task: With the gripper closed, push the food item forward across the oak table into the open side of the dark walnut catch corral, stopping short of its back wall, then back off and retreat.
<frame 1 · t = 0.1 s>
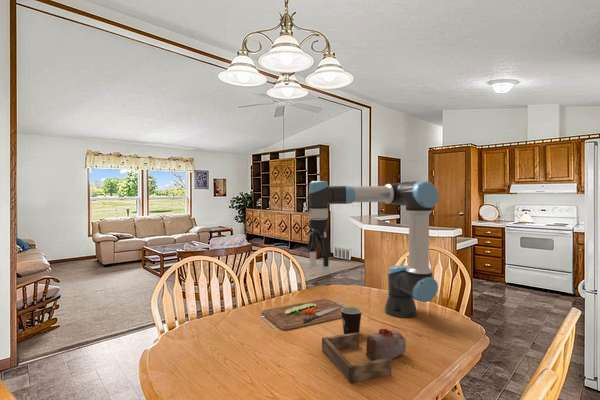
hand: (318, 270, 139), 28 cm above the table, tool pointing down, fingers open, 13 cm apart
corral: (354, 362, 120), on the table
coffee mug: (351, 332, 145), on the table
food item: (385, 356, 124), on the table
chopping board: (307, 315, 167), on the table
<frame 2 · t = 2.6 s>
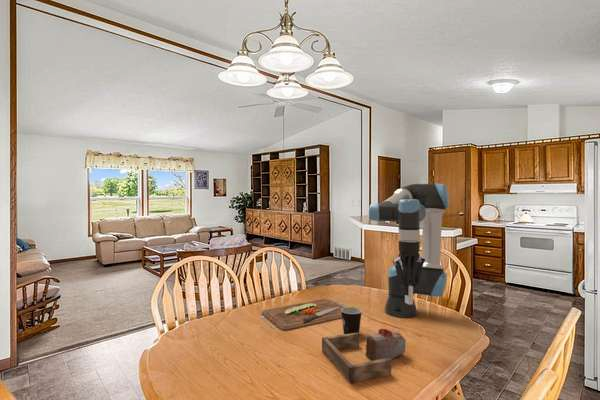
hand: (408, 303, 127), 18 cm above the table, tool pointing down, fingers closed
nothing on the table moved.
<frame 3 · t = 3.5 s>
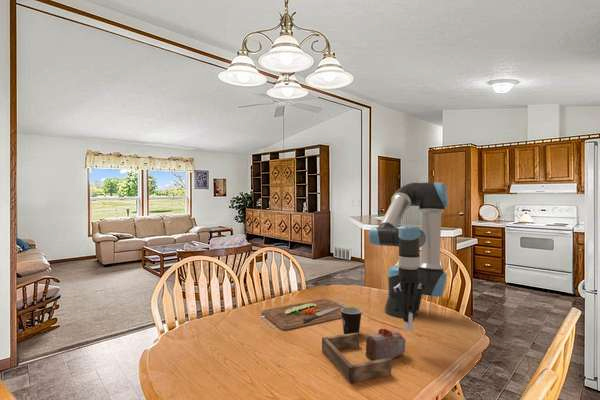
hand: (408, 330, 127), 8 cm above the table, tool pointing down, fingers closed
nothing on the table moved.
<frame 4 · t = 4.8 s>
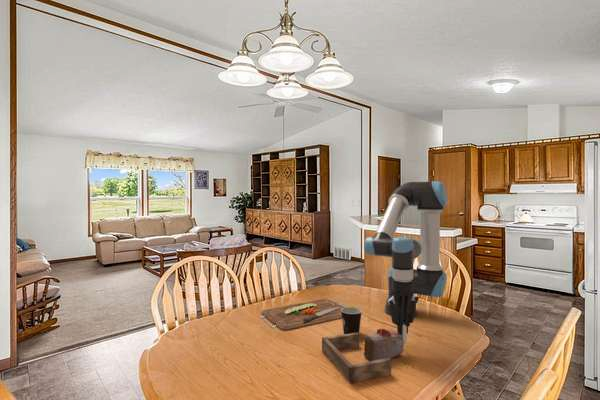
hand: (402, 342, 126), 4 cm above the table, tool pointing down, fingers closed
food item: (383, 356, 124), on the table, touching gripper
everything else where it was.
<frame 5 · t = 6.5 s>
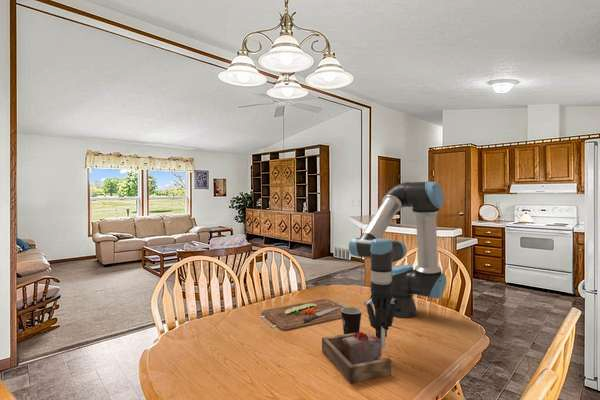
hand: (381, 346, 123), 4 cm above the table, tool pointing down, fingers closed
food item: (361, 360, 121), on the table, touching gripper
everything else where it was.
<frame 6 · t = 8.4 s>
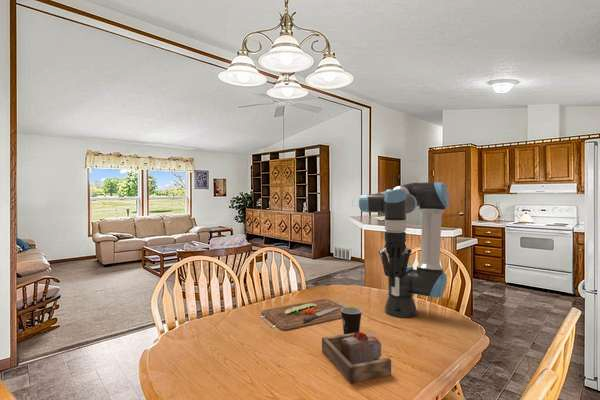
hand: (395, 294, 125), 22 cm above the table, tool pointing down, fingers closed
food item: (360, 361, 121), on the table
everything else where it was.
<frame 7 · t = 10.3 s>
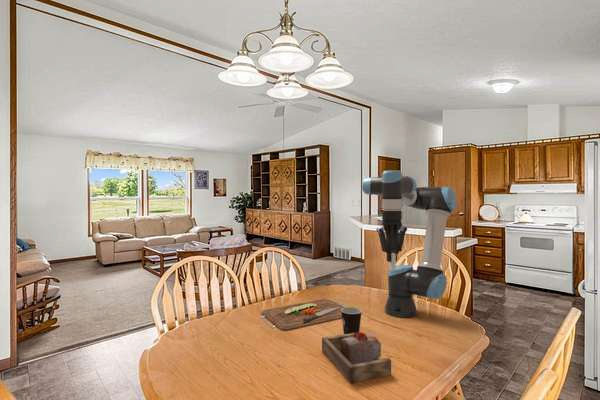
hand: (391, 269, 133), 29 cm above the table, tool pointing down, fingers closed
nothing on the table moved.
at the end: food item inside the target area on the corral (1.6 cm from its centre), point 0.0 cm above the corral's base; food item moved 10.2 cm from its start; food item tilted 0° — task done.
